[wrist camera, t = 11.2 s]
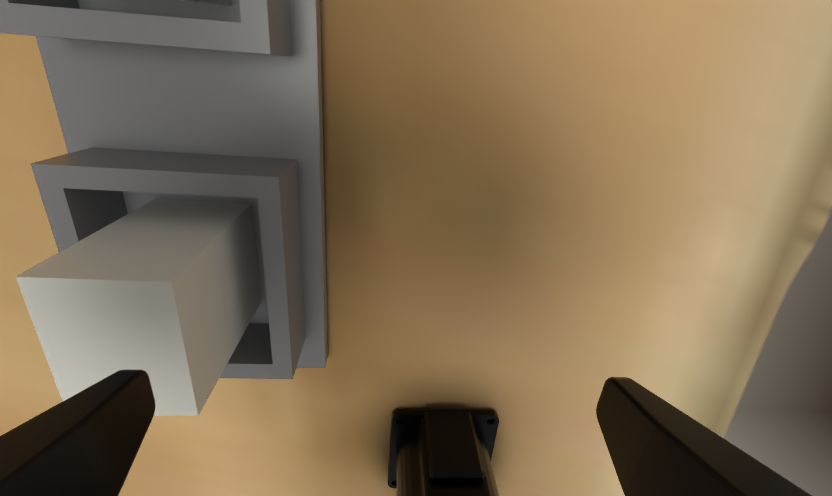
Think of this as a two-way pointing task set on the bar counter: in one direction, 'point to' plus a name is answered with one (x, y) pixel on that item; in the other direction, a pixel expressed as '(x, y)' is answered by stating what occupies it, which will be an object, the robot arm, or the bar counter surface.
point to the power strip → (196, 138)
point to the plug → (214, 1)
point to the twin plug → (149, 300)
